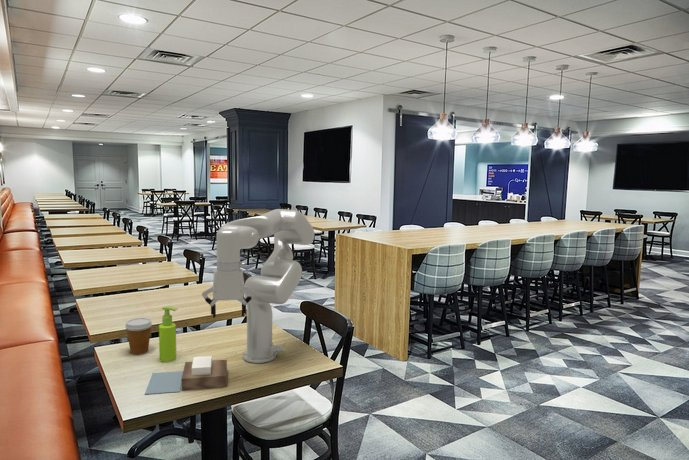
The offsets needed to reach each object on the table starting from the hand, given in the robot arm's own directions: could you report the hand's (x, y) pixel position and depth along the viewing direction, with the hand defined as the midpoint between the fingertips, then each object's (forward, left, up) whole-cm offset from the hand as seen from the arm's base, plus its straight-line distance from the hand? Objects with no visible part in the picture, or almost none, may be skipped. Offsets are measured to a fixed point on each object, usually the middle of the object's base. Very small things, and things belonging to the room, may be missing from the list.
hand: (228, 315), depth 160 cm
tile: (+9, 0, -18) cm, 20 cm away
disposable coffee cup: (+34, -28, -22) cm, 49 cm away
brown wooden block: (+8, 0, -22) cm, 24 cm away
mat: (+21, 0, -22) cm, 30 cm away
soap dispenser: (+22, -19, -22) cm, 37 cm away
